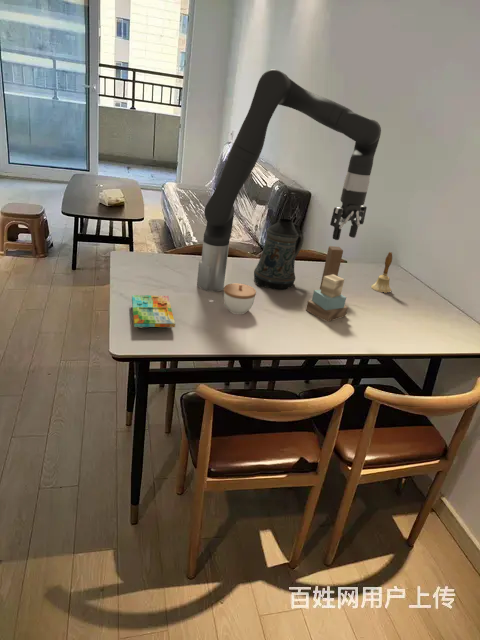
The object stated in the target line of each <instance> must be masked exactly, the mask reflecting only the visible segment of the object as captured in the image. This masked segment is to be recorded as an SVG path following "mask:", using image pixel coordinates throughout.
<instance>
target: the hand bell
mask: <svg viewBox="0 0 480 640" xmlns="http://www.w3.org/2000/svg"><path fill="white" fill-rule="evenodd" d="M392 262H393V252H391V251H389V252H388V253H387V255H386V257H385V261H384V269H383V273H382V274H380V275H379V276H378V278H377V280H376V281H375V283H373V284H372V285H371V286H370V288H371V290H374V291H375V292H379V293H382V292H384V293H383V294H388V293H387V292H390V291H391V292H392V289H391V287H390V277H389V276H388V273H389V268H390V266H391V264H392ZM391 292H390V293H391Z"/></svg>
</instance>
